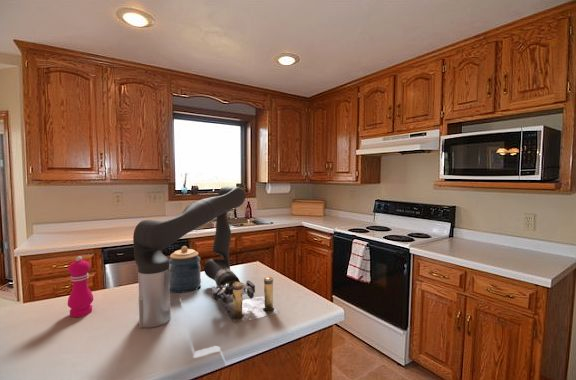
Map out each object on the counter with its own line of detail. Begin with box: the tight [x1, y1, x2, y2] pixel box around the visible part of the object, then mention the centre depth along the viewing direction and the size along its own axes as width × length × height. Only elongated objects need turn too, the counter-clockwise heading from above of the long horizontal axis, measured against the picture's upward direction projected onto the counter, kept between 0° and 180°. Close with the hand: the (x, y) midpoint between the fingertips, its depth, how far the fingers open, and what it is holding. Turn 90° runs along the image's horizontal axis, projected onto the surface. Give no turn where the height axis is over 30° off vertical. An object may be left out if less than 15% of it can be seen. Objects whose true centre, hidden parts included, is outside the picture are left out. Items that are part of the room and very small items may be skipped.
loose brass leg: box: [232, 281, 243, 319], centre depth 93 cm, size 3×3×11 cm
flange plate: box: [222, 295, 281, 325], centre depth 99 cm, size 16×15×1 cm
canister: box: [169, 245, 202, 294], centre depth 120 cm, size 13×13×18 cm
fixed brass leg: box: [263, 276, 274, 311], centre depth 98 cm, size 3×3×11 cm
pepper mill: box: [67, 255, 94, 318], centre depth 97 cm, size 7×7×20 cm
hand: (239, 298), depth 91 cm, fingers open, 8 cm apart
